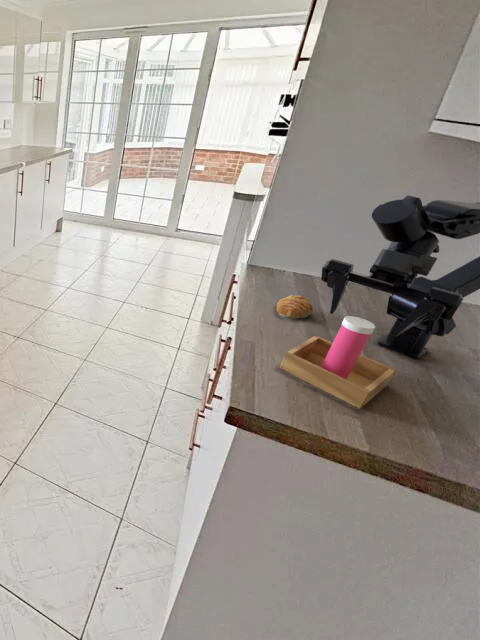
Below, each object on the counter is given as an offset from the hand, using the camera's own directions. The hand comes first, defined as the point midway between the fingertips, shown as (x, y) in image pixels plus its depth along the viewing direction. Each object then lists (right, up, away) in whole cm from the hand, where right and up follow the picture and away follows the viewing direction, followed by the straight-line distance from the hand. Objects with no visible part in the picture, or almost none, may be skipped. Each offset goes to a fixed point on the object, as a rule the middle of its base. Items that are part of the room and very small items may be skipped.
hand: (361, 323), depth 76 cm
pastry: (+7, -1, +25) cm, 26 cm away
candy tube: (-4, -10, +2) cm, 11 cm away
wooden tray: (-4, -11, +2) cm, 12 cm away
